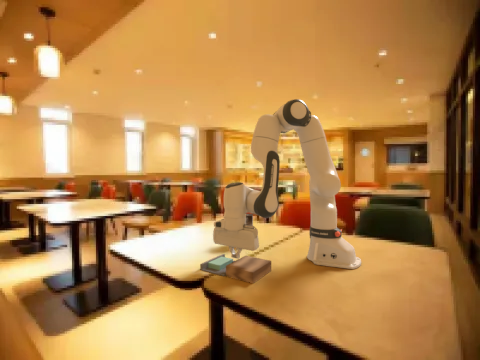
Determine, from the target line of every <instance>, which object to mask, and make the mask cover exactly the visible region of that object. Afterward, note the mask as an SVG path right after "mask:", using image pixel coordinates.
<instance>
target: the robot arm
mask: <svg viewBox="0 0 480 360" xmlns="http://www.w3.org/2000/svg"><path fill="white" fill-rule="evenodd" d="M255 124H256V125H255V128H254V130H253V134H252V138H251V143H250V144H251V145H250V152H251V155H252V157H253V158H254V159H255V160H256V161H258V162H259V163H260V164H261V165H262V168H263V173H262V174H263V176H262V186H261V190H257V189H254V188H251V187H249V186H247V185H245V183H243V182H242V181H241V182H239V181H238V182H232V183H228V184H227V185H226V186H225V187H224V191H223V208H224V213H223V218H222V219H219V220H216V221H214V222H213V227H214V228H213V233H212V235H213V236H212V237H213V239H212V240H213V243H214V244H215V245H220V246H224V247H225V246H226V247H228V249H229V252H230V254H231V259H236V260H238V259H240V258H241V252H242V251H243V250H246V251H247V250H248V251H251V252H254V251H257V250H258V249H259V248H260V242H259V230H258V228H257V227H256V226H254V225H253V226H249V225H246V214H253V215H257V216H259V217H262V218H263V219H270V218H271V217H273V216H274V215H275V214H276V213H277V212H278V209H279V207H280V205H279V204H280V202H279V201H280V199H279V194H278V193H279V182H280V180H279V178H280V165H281V164H280V163H281V161H280V155H279V154H278V147H279V146H278V145H279V141H280V136H281V134H285V133H288V132H290V131H295V133H296V134H297V137H298V140H299V144H300V148H301V152H302V156H303V158H304V159H303V160H304V163H305V166H306V168H307V171H308V174H309V180H308V181H309V182H308V183H309V184H308V185H309V201H310V202H309V203H310V226H309V239H310V241H309V246H308V247H309V248H308V252H307V256H306V258H307V259H308V260H309V261H310V262H312V263H313V264H314V265H317V266H324V267H325V266H326V267H332V268H338V269H339V268H341V269H349V270H354V269H358V268H359V267H361V265H362V259H361V258H360V257H358V256H357V255H356V250H355V247H354V246H353V245H352V244H351V243H350V242H349V241H347V240H346V239H345V238H344V237H343V236H342V235H343V234H342V233H343V228H342V229H340V228H338V227H337V226H338V225H337V224H338V209H337V206H336V205H337V203H336V195H337V194H338V193H339V192H340V190H341V187H342V184H341V179H340V177H339V174H338V172H337V168H336V167H335V163H334V161H333V159H332V155H331V152H330V149H329V148H330V147H329V145H328V141H327V136H326V133H325V130H324V127H323V125H322V123H321V121H320V118H319V117H318V116H316V115H313V114H312V111H310V109H309V107H308V105H307V104H306V103H305V102H304V100H301V99H299V98H298V99H297V98H295V99H291V100H289V101H287V102H286V103H284V104H283V105H282V106H280V107H279V108H278V109H277V110H276V111H275V112H273V114H270V113H267V114H262V115H261V116H259V118H258V120H257V121H256V123H255ZM235 248H236V250H235Z"/></svg>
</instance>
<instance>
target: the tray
mask: <svg viewBox="0 0 480 360" xmlns="http://www.w3.org/2000/svg"><path fill="white" fill-rule="evenodd" d="M225 255H226V254H225V253H221V254H219V255H217V256H216V257H213V258H211V259H209V260H206V261H204V262H202V263H200V265H199V266H200V267H199V270H200V271H201V272H202V271H203V272H206V273H211V274H214V275H218V276H221V275H222V276H221V277H225V275H226V267H225V268H224V269H222V270H216V269H212V268H208V262H211V261H213V260H215V259H217V258H219V257H226V256H225ZM234 261H235V260H233V262H234Z"/></svg>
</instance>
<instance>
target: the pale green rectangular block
mask: <svg viewBox="0 0 480 360" xmlns="http://www.w3.org/2000/svg"><path fill="white" fill-rule="evenodd" d="M233 261H234V258H232V257H231V258H229V257H226V256H225V257H219V258H217V259H215V260H213V261H211V262H208V268H212V269H216V270H222V269H224V268H225V267H226V265H228V264H230V263H232V262H233Z"/></svg>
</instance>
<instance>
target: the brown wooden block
mask: <svg viewBox="0 0 480 360" xmlns="http://www.w3.org/2000/svg"><path fill="white" fill-rule="evenodd" d="M233 261H234V262H232V263H230V264H228V265H226V277H227V276H228V278H231V277H232V278H231V279H234V278H235V280H238V279H239V280H238V281H242V280H243V282H246V283H249V282H250V284H255V282H257V281H259V280H260V279H261V278H263V277H265V276H266V275H267V274H268V273H270V272H272V260H270V259H269V260H268V259H265V258H259V257H254V256H249V255H244V256H243V257H240V258H238V259H236V260H233Z"/></svg>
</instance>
